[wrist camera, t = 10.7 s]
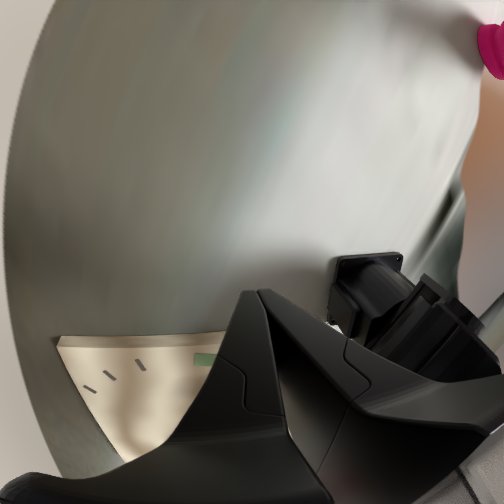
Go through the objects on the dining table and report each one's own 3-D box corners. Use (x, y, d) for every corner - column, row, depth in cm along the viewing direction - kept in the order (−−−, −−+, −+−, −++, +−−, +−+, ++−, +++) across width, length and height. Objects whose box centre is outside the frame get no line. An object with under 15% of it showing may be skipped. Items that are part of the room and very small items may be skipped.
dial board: (318, 320, 25) (324, 332, 24) (292, 442, 35) (295, 451, 33) (61, 335, 22) (56, 347, 20) (126, 453, 31) (125, 462, 30)
